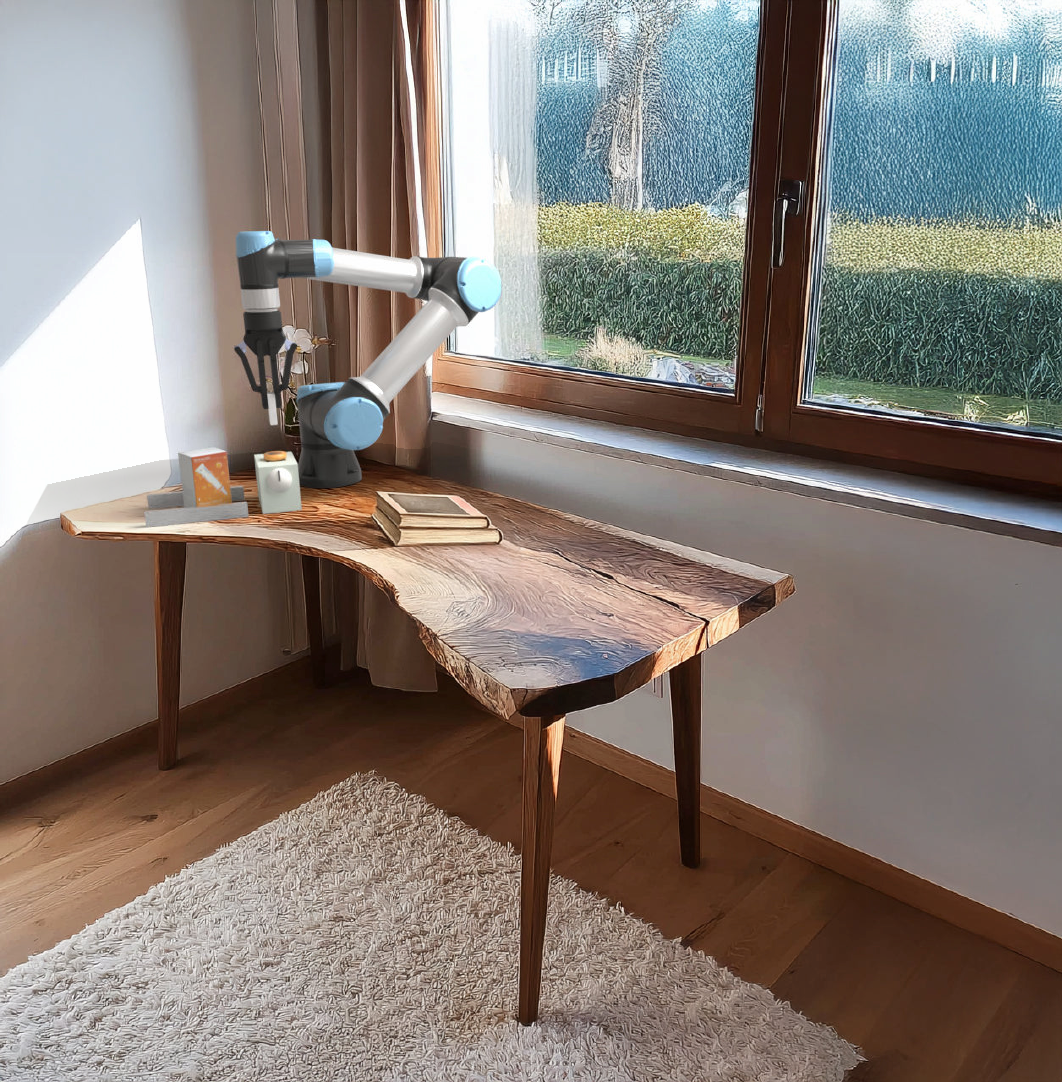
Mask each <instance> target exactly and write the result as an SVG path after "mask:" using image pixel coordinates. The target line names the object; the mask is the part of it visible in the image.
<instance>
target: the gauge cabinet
mask: <svg viewBox="0 0 1062 1082" xmlns="http://www.w3.org/2000/svg"><path fill="white" fill-rule="evenodd" d="M285 452H286V454H287V458H285V459H283V461H274V462H268V460H264V456H263V454H264V453H257V454H253V457H254V465H255V466H254V467H255V477H256V484H257V485H256V486H257V496H258V501H259V502H258V503H259V505H260V508H261V512H262V515H266V514H276V513H286V512H297V510H298V511H303V510H302V509H303V508H302V499H301V497H302V496H301V487H300V486H301V485H299V474H298V464H299V463H298V462H297V460H296V458H295V456H294V454H293V452H292V451H285Z"/></svg>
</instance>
